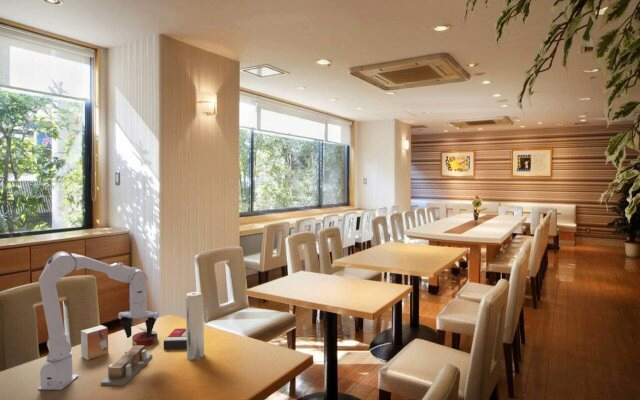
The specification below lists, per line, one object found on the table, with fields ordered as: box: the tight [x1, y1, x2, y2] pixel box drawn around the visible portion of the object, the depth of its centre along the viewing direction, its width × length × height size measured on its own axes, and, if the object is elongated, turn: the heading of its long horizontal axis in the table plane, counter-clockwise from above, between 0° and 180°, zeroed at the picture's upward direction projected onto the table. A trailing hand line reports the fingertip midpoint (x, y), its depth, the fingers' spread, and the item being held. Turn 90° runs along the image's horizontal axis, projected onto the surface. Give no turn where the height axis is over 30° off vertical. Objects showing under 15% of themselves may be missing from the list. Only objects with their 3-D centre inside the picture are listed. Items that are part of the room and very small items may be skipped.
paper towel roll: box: [185, 291, 205, 361], centre depth 159 cm, size 6×6×25 cm
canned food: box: [131, 323, 158, 347], centre depth 174 cm, size 11×10×10 cm
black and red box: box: [163, 328, 187, 351], centre depth 174 cm, size 11×4×15 cm
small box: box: [80, 324, 109, 361], centre depth 161 cm, size 8×6×10 cm
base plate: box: [100, 349, 153, 386], centre depth 149 cm, size 22×8×4 cm, turn 179°
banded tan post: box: [109, 345, 146, 379], centre depth 149 cm, size 18×4×4 cm, turn 179°
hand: (139, 336), depth 156 cm, fingers open, 7 cm apart
